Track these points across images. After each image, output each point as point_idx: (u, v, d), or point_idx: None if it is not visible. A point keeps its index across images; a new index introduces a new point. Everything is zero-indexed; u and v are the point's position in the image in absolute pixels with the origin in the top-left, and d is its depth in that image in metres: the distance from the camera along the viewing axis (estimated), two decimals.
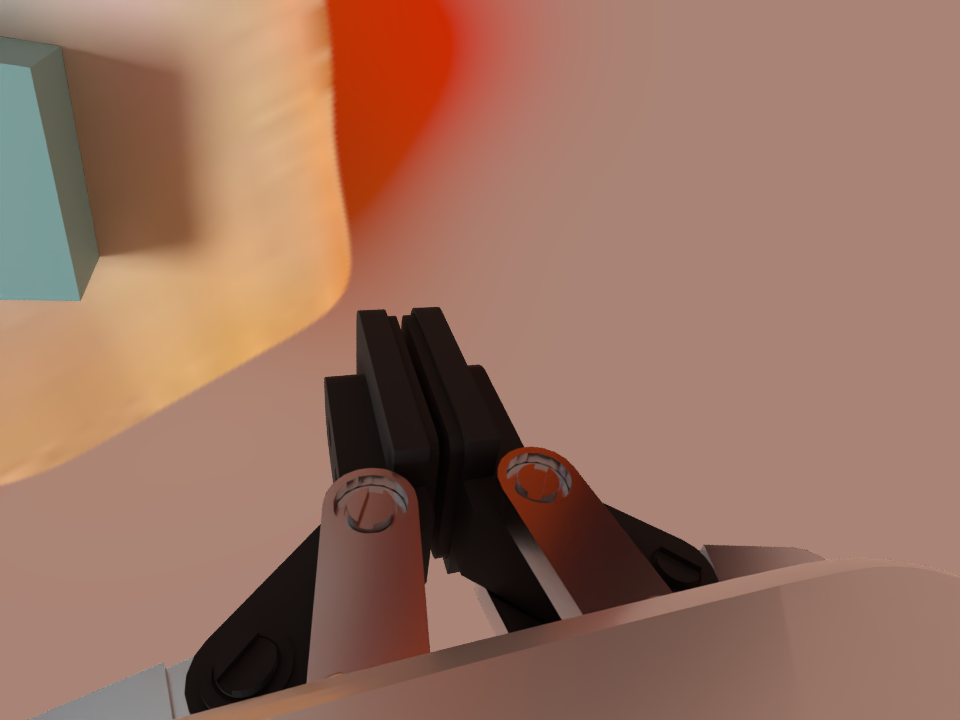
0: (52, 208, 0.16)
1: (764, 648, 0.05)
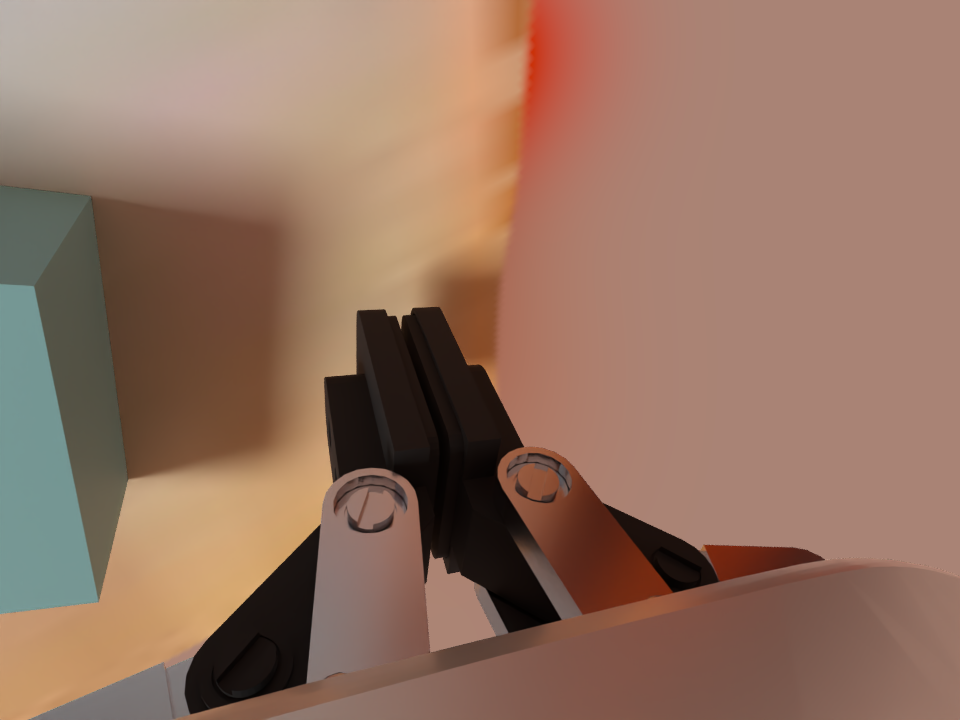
0: (61, 490, 0.09)
1: (764, 647, 0.05)
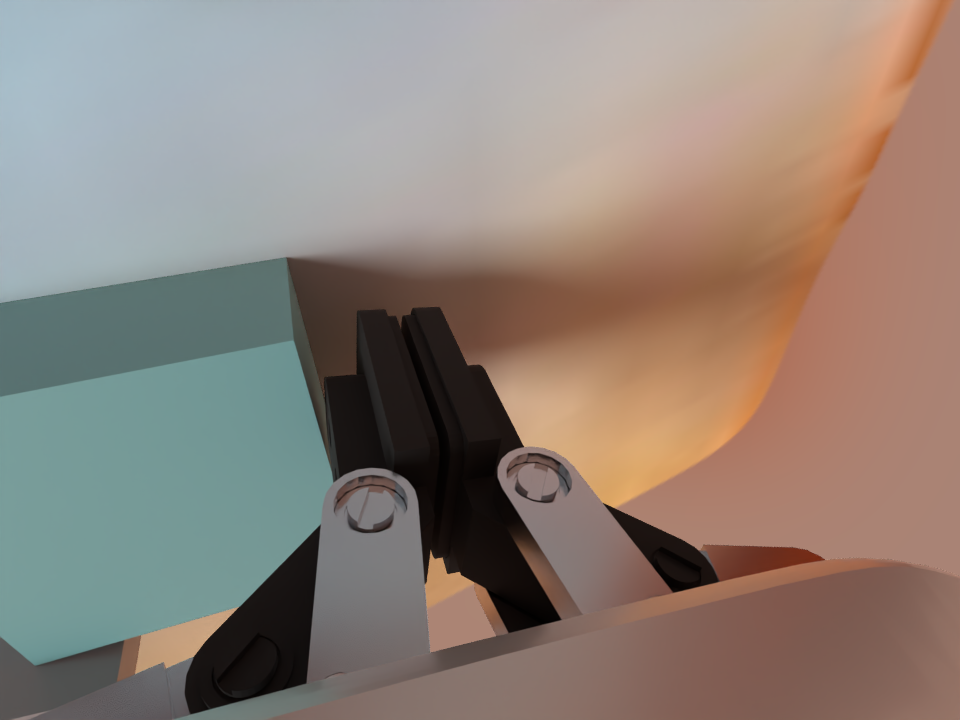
0: (326, 490, 0.12)
1: (764, 646, 0.05)
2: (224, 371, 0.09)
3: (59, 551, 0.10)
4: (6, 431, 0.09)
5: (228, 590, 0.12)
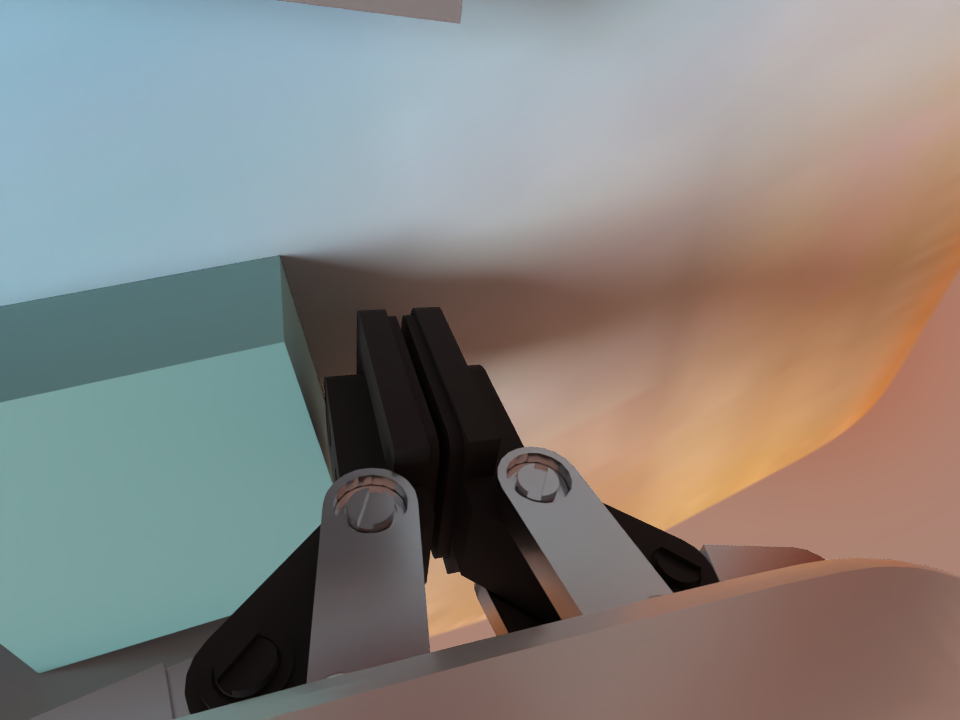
0: (325, 493, 0.11)
1: (763, 647, 0.05)
2: (214, 374, 0.09)
3: (56, 559, 0.10)
4: None
5: (229, 596, 0.12)
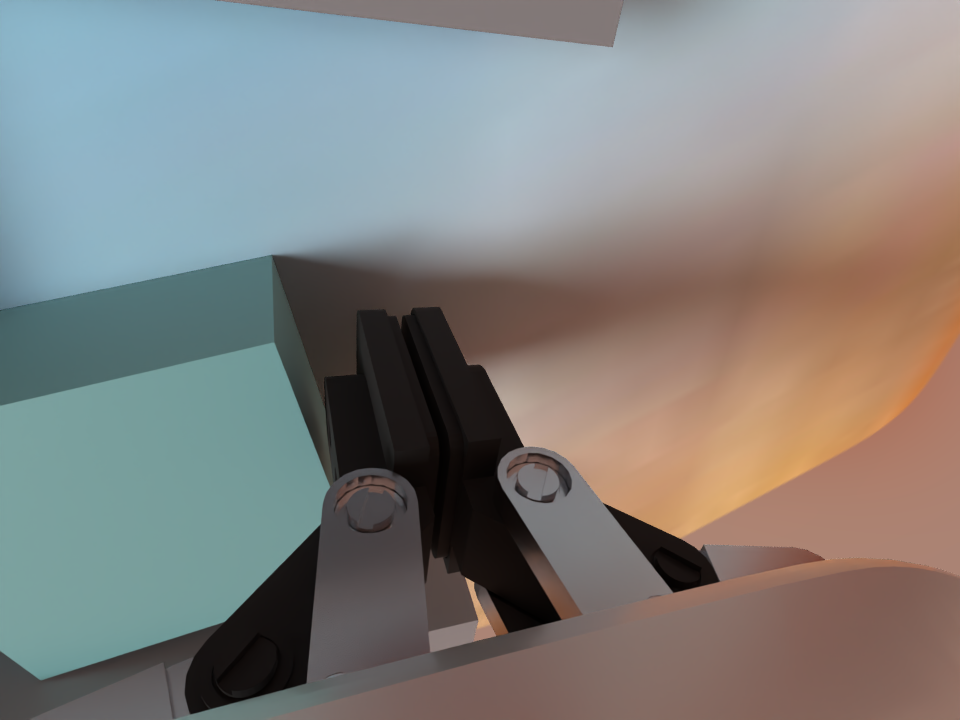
0: (322, 496, 0.11)
1: (764, 647, 0.05)
2: (205, 377, 0.09)
3: (52, 566, 0.10)
4: None
5: (229, 600, 0.12)
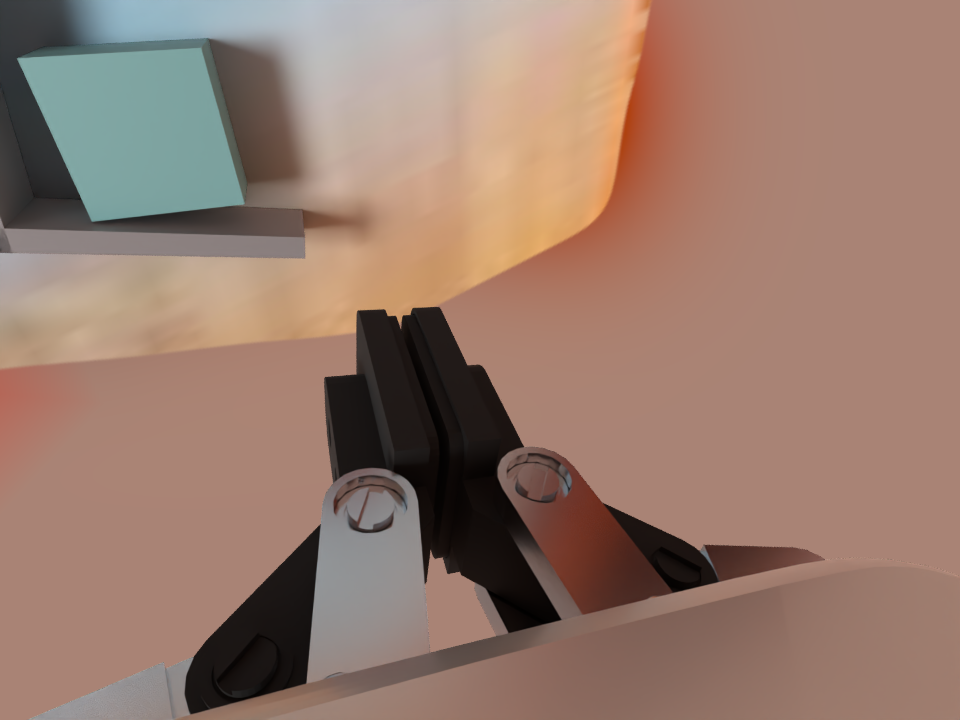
0: (222, 139, 0.26)
1: (764, 647, 0.05)
2: (174, 58, 0.24)
3: (107, 145, 0.25)
4: (93, 71, 0.24)
5: (179, 197, 0.27)
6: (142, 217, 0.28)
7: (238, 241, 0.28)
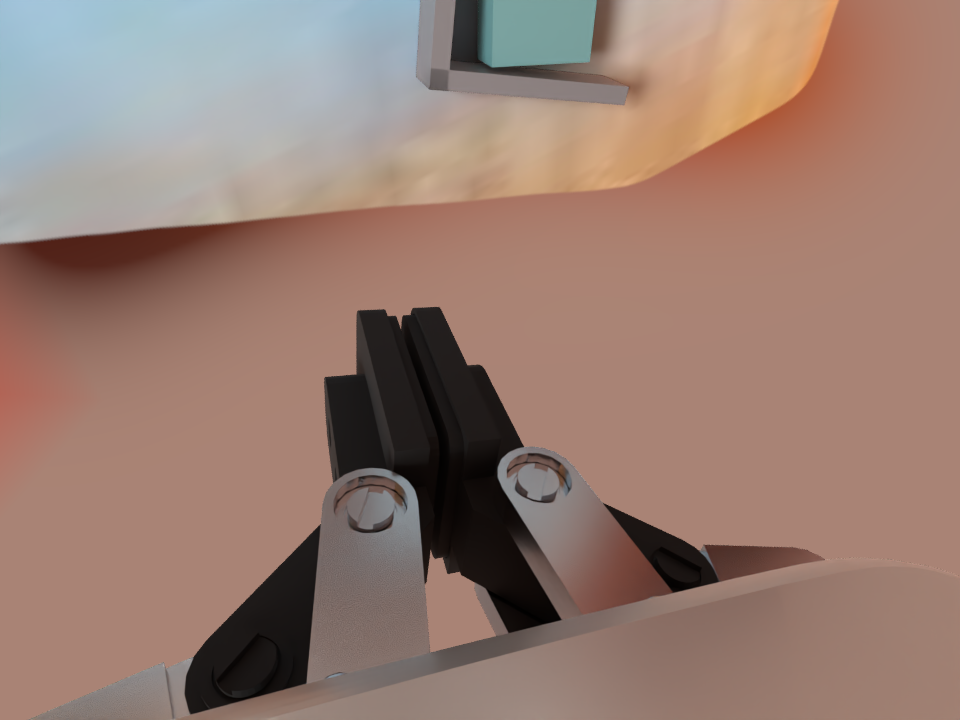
0: (593, 7, 0.36)
1: (764, 647, 0.05)
2: None
3: (522, 5, 0.35)
4: None
5: (552, 52, 0.37)
6: (516, 71, 0.38)
7: (586, 88, 0.38)
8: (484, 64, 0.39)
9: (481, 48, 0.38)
